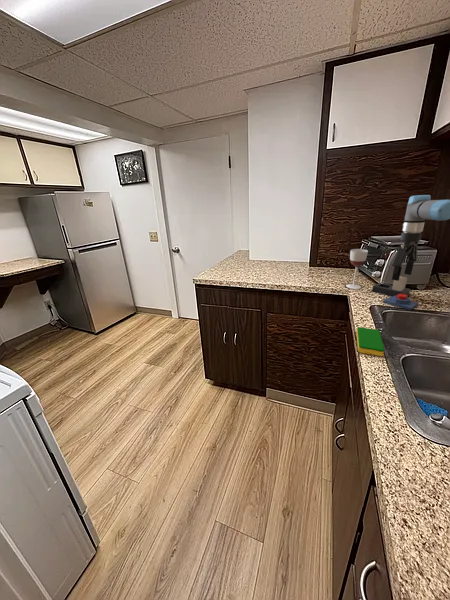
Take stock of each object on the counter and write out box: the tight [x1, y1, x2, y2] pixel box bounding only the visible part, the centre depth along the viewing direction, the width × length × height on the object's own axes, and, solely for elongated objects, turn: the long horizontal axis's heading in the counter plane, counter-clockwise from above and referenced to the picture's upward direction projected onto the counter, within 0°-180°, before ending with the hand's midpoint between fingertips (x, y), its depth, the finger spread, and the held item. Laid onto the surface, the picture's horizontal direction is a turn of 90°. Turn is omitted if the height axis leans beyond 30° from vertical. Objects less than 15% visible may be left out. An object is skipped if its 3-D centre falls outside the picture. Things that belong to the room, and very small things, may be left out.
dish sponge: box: [356, 326, 385, 357], centre depth 85 cm, size 7×14×2 cm, turn 156°
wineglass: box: [345, 248, 369, 290], centre depth 133 cm, size 8×9×20 cm
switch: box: [397, 294, 408, 300], centre depth 112 cm, size 4×4×2 cm
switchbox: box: [382, 295, 419, 311], centre depth 113 cm, size 11×8×3 cm
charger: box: [392, 275, 408, 292], centre depth 122 cm, size 4×4×9 cm
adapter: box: [371, 282, 411, 297], centre depth 125 cm, size 14×8×3 cm, turn 35°
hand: (401, 277), depth 120 cm, fingers open, 13 cm apart
